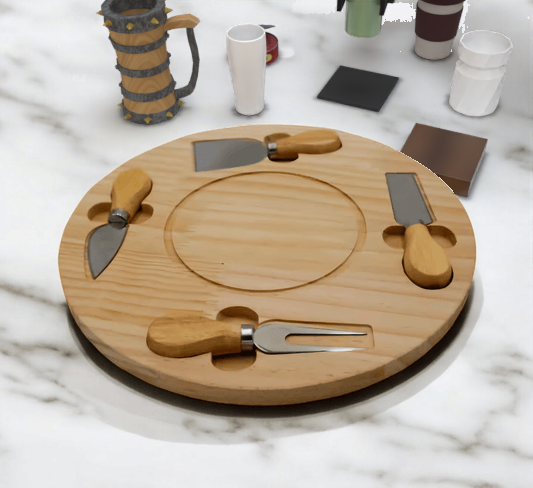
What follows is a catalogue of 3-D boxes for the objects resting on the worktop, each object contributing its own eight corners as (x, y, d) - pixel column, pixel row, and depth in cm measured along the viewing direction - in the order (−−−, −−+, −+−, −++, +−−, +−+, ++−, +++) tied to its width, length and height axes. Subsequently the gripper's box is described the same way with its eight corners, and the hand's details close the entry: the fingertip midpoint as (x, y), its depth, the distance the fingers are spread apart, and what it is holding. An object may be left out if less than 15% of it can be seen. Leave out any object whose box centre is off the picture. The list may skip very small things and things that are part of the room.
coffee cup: (447, 68, 128) (460, -7, 117) (399, 56, 131) (409, -17, 121) (464, 46, 133) (478, -27, 123) (418, 36, 137) (428, -36, 127)
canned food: (236, 84, 135) (209, 44, 129) (251, 56, 141) (227, 16, 135) (281, 69, 128) (255, 26, 123) (295, 40, 134) (271, -2, 128)
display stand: (484, 153, 108) (488, 138, 106) (467, 197, 100) (470, 181, 98) (413, 137, 112) (415, 122, 110) (392, 177, 104) (394, 162, 102)
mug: (122, 91, 126) (100, -12, 112) (211, 87, 125) (200, -15, 111) (111, 129, 116) (86, 23, 102) (207, 126, 116) (195, 19, 102)
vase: (487, 121, 114) (502, 59, 106) (440, 107, 118) (451, 46, 110) (504, 98, 119) (520, 37, 111) (459, 85, 123) (471, 25, 115)
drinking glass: (244, 123, 116) (239, 45, 106) (224, 106, 121) (218, 30, 110) (275, 110, 119) (273, 34, 108) (255, 94, 123) (251, 19, 113)
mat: (398, 79, 125) (399, 77, 125) (378, 112, 118) (378, 109, 117) (340, 67, 129) (340, 65, 129) (317, 98, 122) (317, 95, 121)
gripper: (430, -24, 123) (417, 33, 107) (330, -32, 127) (302, 21, 112) (436, -66, 118) (423, -12, 102) (331, -73, 122) (303, -22, 106)
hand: (360, 5), depth 107 cm, fingers closed on tumbler, 6 cm apart
